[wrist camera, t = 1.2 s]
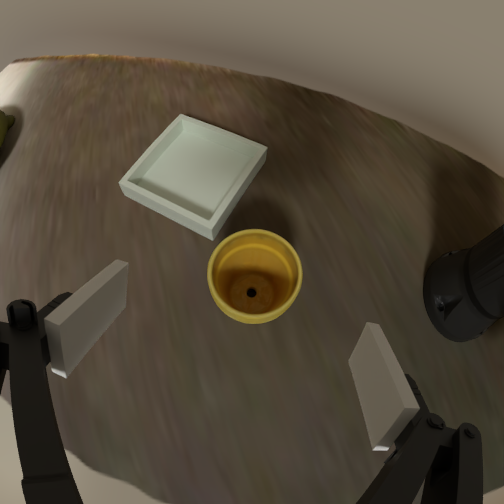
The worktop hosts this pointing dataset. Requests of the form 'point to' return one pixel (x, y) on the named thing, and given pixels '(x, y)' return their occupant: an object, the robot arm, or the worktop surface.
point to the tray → (194, 174)
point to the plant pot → (254, 275)
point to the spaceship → (5, 125)
